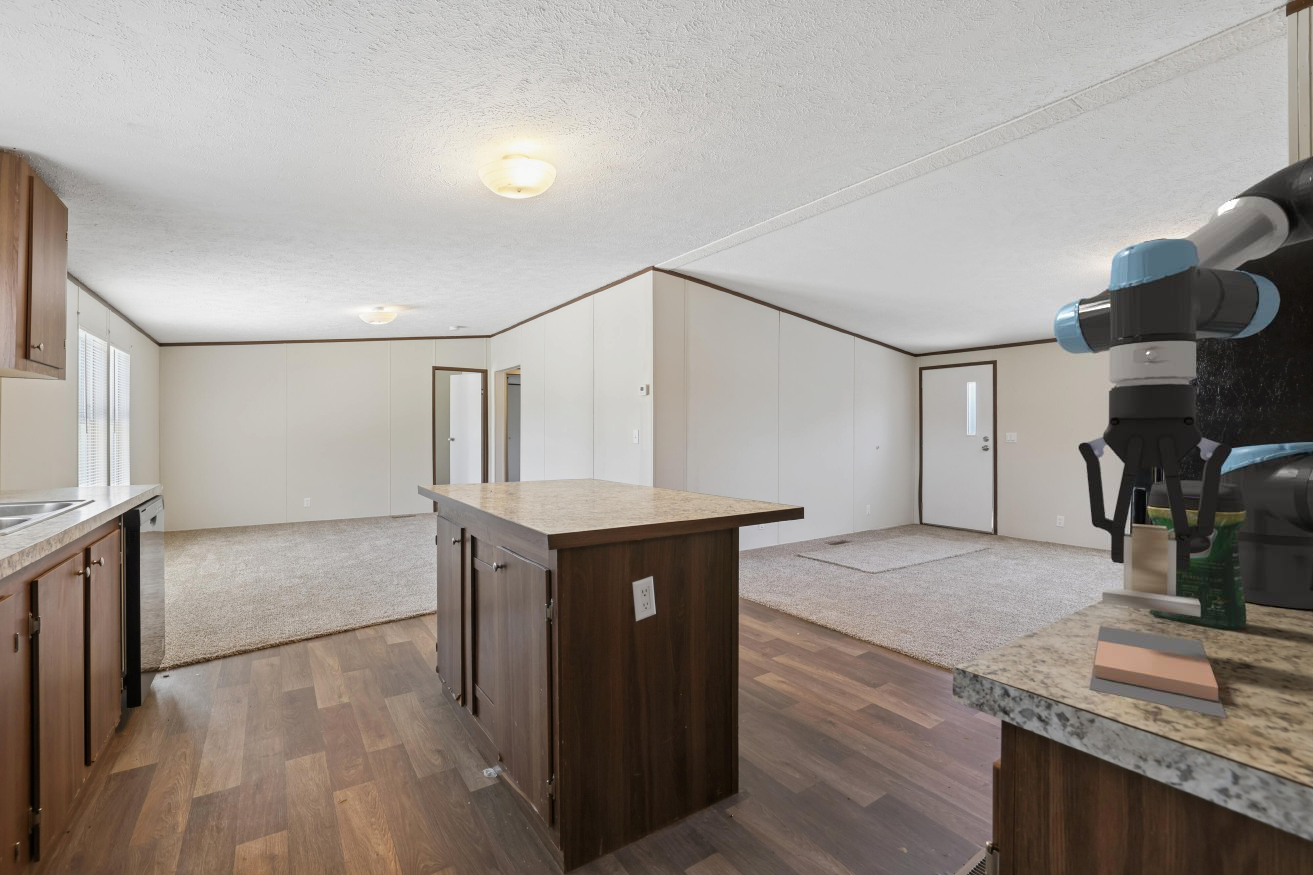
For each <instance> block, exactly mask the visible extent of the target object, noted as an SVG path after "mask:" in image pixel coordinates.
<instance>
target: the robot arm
mask: <svg viewBox="0 0 1313 875" xmlns="http://www.w3.org/2000/svg"><path fill="white" fill-rule="evenodd" d="M1311 240H1313V155H1311V156H1308V157H1306V158H1303V159H1301V160H1298V161H1296V162H1294V163H1292V164H1289V165H1287V166H1286V167H1283V168H1282V169H1280V170H1278V171H1276V172H1274V173H1272V174H1271V175H1270V176H1267V177H1266V178H1264V179H1263V180H1261V181H1258V182H1257V183H1255V184H1253V185H1252V186H1251V187H1248V188H1247V189H1246V190H1244V191H1242V192H1241V193H1239V194H1238V195H1237V196H1235V197H1233V198H1231V199H1230V200H1229V201H1227V202H1225V203H1224V204H1222V205H1221V206H1220V207H1219V208H1217V209H1216V210H1215V211H1214V212H1213V214H1212V215H1211V217H1210V219H1209V221H1208V222H1207V223H1206V224H1205V225H1203V226H1201V227H1200V228H1199V229H1197V230H1196V231H1194V232H1192V233H1191V234H1189V235H1188V236H1187V237H1185V238H1165V239H1155V240H1151V241H1150V240H1149V241H1144V242H1141V243H1137V244H1133V245H1130V246H1126V247H1125V248H1123V249H1121V250H1120V251H1118V252H1117V253H1116V254H1114V256H1113V258H1112V260H1111V261H1112V262H1111V270H1110V279H1109V285H1108V288H1106V289H1105V290H1103V291H1102V292H1100V293H1099V294H1096V295H1094V296H1092V297H1087V298H1080V299H1078V300H1075V301H1073V302H1070V303H1066V304H1064V305H1063V306H1062V307H1061V308H1060V309H1059V310H1058V312H1057V313H1056V315H1055V318H1054V320H1053V334H1054V336H1055V337H1056V340H1057V343H1058V345H1059V346H1060V347H1061V348H1062V349H1063V350H1064V351H1066V352H1067V353H1071V354H1075V355H1076V354H1077V355H1078V354H1089V353H1092V354H1098V353H1102V352H1109V355H1108V356H1109V357H1108V358H1109V366H1108V367H1109V369H1108V370H1109V374H1108V375H1109V377H1108V378H1109V379H1108V380H1109V382H1111V384H1115V385H1114V387H1112V388H1110V389H1111V390H1109V391H1108V424H1107V427H1106V429H1105V430H1104V432H1103V435H1102V437H1098V438H1096V439H1093V440H1091V441H1088V442H1085V441H1084V442H1081V443H1080V444H1078V451H1079V452H1080V454H1081V456H1082V457H1083V461H1085V464H1086V476H1087V485H1088V495H1089V506H1090V507H1089V508H1090V517H1091V524H1092V526H1093V527H1095V528H1097V529H1101V530H1103V531H1106V532H1108V533H1109V534H1110V541H1111V542H1110V545H1111V546H1110V548H1111V549H1110V558H1111V561H1112V562H1113V563H1114V564H1123V588H1122V589H1125V590H1132V533H1126V526H1127V521H1128V517H1129V516H1128V515H1129V510H1130V507H1131V506H1130V505H1131V501H1132V498H1133V492H1134V488H1135V481H1136V477H1137V472H1138V469H1145V468H1148V467H1149V468H1150V467H1152V468H1156V469H1160V470H1162V472H1163V478H1164V481H1165V484H1166V489H1167V494H1168V500H1169V505H1170V510H1171V516H1172V521H1173V527H1174V532H1175V538H1170V537H1168V561H1167V595H1172V596H1176V569H1179V570H1188V568H1189V567H1190V542H1191V541H1192V540H1193V539H1195V538H1198V537H1204V536H1210V535H1212V534H1213V530H1214V522H1215V515H1216V507H1217V499H1218V492H1219V484H1220V483H1227V484H1235V485H1238V486H1239V487H1240V489H1241V492H1242V496H1243V501H1244V505H1245V511H1246V517H1245V520H1244V522H1243V524H1242V525H1241V527H1240V529H1239V537H1238V548H1239V563H1240V571H1241V579H1242V585H1243V591H1244V598H1245V602H1247V603H1248V602H1249V603H1254V604H1261V605H1266V606H1272V607H1273V606H1275V607H1280V608H1281V607H1282V608H1291V609H1303V610H1304V609H1306V610H1313V441H1312V442H1307V441H1305V442H1289V443H1287V442H1286V443H1276V444H1275V443H1274V444H1273V443H1271V444H1261V445H1250V446H1241V447H1234V448H1232V447H1231V445H1229V444H1227V443H1219V442H1217V441H1214V440H1210V439H1208V438H1204V437H1203V435H1202V432H1201V431H1200V429H1199V428H1198V426H1197V422H1196V417H1197V416H1196V411H1197V410H1196V409H1197V408H1196V407H1197V405H1196V404H1197V403H1196V402H1197V399H1196V398H1197V388H1196V387H1194V385H1193V384H1189V383H1190V381H1192V380H1194V379H1196V378H1197V340H1198V339H1199V340H1200V339H1206V338H1214V339H1219V340H1226V339H1239V338H1240V339H1241V338H1247V337H1249V336H1252V335H1255V334H1257V333H1259V332H1260V331H1262V330H1264V329H1265V328H1266V327H1267V326H1269V325H1270V323H1271V322H1273V320H1274V319H1275V317H1276V315H1277V313H1278V311H1279V307H1280V303H1281V297H1280V292H1279V291H1278V288H1277V286H1275V284H1274V283H1273V282H1272V281H1271V280H1269V279H1268V278H1266V277H1264V276H1262V275H1258V274H1254V273H1249V272H1247V271H1244V270H1241V271H1240V270H1238V269H1237V268H1239V267H1241V265H1244V263H1246V262H1247V261H1252V260H1257V259H1261V258H1264V257H1267V256H1268V255H1270V254H1272V253H1274V252H1275V251H1276V250H1278V249H1280V248H1284V247H1286V246H1291V245H1295V244H1298V243H1303V242H1306V241H1311ZM1106 446H1108V447H1109V448H1110V449H1111V451H1113V453H1114V454H1115V455H1116V456H1117V458H1119V460H1120V461H1121V462H1122V463H1123V464H1124V466H1123V469H1122V475H1121V479H1120V483H1119V484H1120V485H1119V489H1118V494H1117V499H1116V504H1115V510H1114V514H1113V519H1110V518H1107V517H1106V510H1105V500H1104V492H1103V491H1104V490H1103V480H1102V478H1103V477H1102V472H1101V471H1102V470H1101V462H1100V459H1099V458H1102V457H1103V456H1104V452H1105V451H1104V448H1105V447H1106ZM1197 447H1198V448H1199V449H1200V452H1199V454H1200V458H1201V459H1203V460H1205V463H1204V465H1203V466H1204V467H1203V472H1202V480H1201V481H1202V487H1201V494H1200V502H1199V510H1198V518H1197V524H1195V525H1190V526H1189V525H1188V520H1187V514H1186V509H1185V504H1184V498H1183V493H1182V488H1181V482H1180V481H1181V478H1180V477H1181V476H1180V472H1179V464H1180V463H1181V462H1182V461H1184V459H1185V458H1187V456H1189V454H1190V453H1191V452H1192V451H1193V450H1194V449H1195V448H1197Z"/></svg>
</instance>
